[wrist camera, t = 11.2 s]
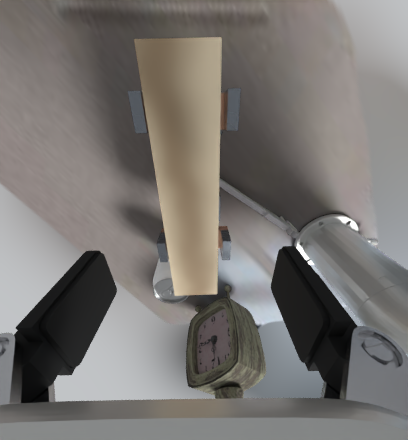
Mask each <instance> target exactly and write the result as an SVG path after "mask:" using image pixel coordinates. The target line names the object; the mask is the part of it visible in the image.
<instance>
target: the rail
mask: <svg viewBox="0 0 408 440" xmlns="http://www.w3.org/2000/svg"><path fill="white" fill-rule="evenodd" d="M134 43H135V49H136V56H137V62H138V68H139V74H140V81H141V87H142V93H143V99H144V106H145V112H146V118H147V125H148V131H149V137H150V143H151V150H152V156H153V162H154V168H155V175H156V181H157V187H158V193H159V200H160V206H161V212H162V219H163V225H164V231H165V237H166V244H167V250H168V256H169V262H170V269H171V275H172V281H173V287H174V294H175V296H183V295H209V294H217V280H218V225H219V170H220V114H221V59H222V37H202V38H159V39H134Z"/></svg>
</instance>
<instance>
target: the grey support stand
mask: <svg viewBox="0 0 408 440" xmlns="http://www.w3.org/2000/svg"><path fill="white" fill-rule="evenodd" d="M240 92H241V88H232V89H227V91H226V92H225V93H221V114H220V134H222V130H226V131H234V130H238V124H239V108H240ZM128 96H129V101H130V107H131V112H132V117H133V122H134V127H135V133H149V131H148V125H147V118H146V112H145V106H144V99H143V93H142V91H128ZM220 200H221V196H220V195H219V221H220ZM157 247H158V253H159V258H160V262H168V261H169V256H168V250H167V244H166V237H165V231H164V228H162V230H161V233H160V236H159V239H158V242H157ZM218 248H220V250H221V256H222V260H230V250H231V239H230V235H229V232H228V228H227V226H218Z"/></svg>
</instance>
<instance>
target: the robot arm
mask: <svg viewBox="0 0 408 440" xmlns="http://www.w3.org/2000/svg"><path fill="white" fill-rule="evenodd" d="M377 244H378V240H377V239H376V238H367V239H366V238H365V237H364V236H362V235H361V234H359V229H358V226H357V224H356V223H355V222H354V221H353V220H352V219H350V218H349V217H347V216H344V215H340V214H330V215H325V216H322V217H319V218H317V219H315V220H313V221H312V222H310V223H309V224H307V225H306V226H305V227H304V228H303V229H302V230H301V231H300V232H299V234H298V236H297V237H296V240H295V244H294V246H284V247H283V248H282V249H280V250H279V252H278V256H277V261H276V265H275V269H274V274H273V278H272V283H271V290H272V293H273V295H274V298H275V300H276V303H277V305H278V308H279V310H280V312H281V315H282V317H283V320H284V322H285V324H286V327H287V329H288V332H289V334H290V337H291V339H292V341H293V344H294V346H295V349H296V351H297V354H298V356H299V358H300V360H301V361H302V362H303V363H305V364H306V366H307V369H308V371H319V373H320V375H321V377H322V379H323V380H324V383H323V388H322V393H321V398H236V399H169V400H114V401H113V400H112V401H66V402H55V391H54V381H55V379H56V377H57V375H72V373H73V371H74V369H75V368H76V366H78V365H79V364H80V363H81V362H82V359H83V358H84V356H85V354H86V352H87V350H88V348H89V346H90V344H91V342H92V340H93V338H94V336H95V334H96V332H97V330H98V328H99V326H100V324H101V322H102V321H103V319H104V317H105V315H106V313H107V311H108V309H109V307H110V305H111V303H112V301H113V299H114V297H115V295H116V292H117V288H116V285H115V283H114V280H113V277H112V275H111V272H110V269H109V267H108V264H107V261H106V259H105V256H104V254H103V253H101V252H100V251H86V252H85V253H84V254H83V255H82V256H81V257H80V258H79V259H78V260H77V261H76V263H75V264H74V265H73V266H72V267H71V268H70V269H69V270H68V271H67V272H66V274H64V276H63V277H62V278H61V279H60V280H59V281H58V282H57V283H56V284H55V285H54V286H53V288H52V289H51V290H50V291H49V292H48V293H47V294H46V295H45V296H44V297H43V299H42V300H41V301H40V302H39V303H38V304H37V305H36V306H35V307H34V308H33V309H32V310H31V311H30V313H29V314H28V315H27V316H26V317H25V318H24V319H23V320H22V321H21V322H20V323H19V325H18V326H17V327H16V329H17V330H18V331H17V332H16V333H15V334H14V335H13V334H12V333H2V334H0V440H408V357H407V355H406V354H408V270H407V269H406V268H404V267H403V266H401V265H400V264H399V263H397V262H396V261H394V260H393V259H392V258H390V257H389V256H388V255H386V254H385V253H383V252H382V251H380V250H379V249H378V248H377V247H375V246H373V245H377ZM309 264H311V265H315V267H316V268H317V269H318V270H319V272H320V273H321V274H322V275H323V277H324V278H325V279H326V280H327V282H328V283H329V284H330V285H331V287H332V288H333V289H334V290H335V292H336V293H337V294H338V295H339V297H340V298H341V299H342V300H343V302H344V303H345V304H346V305H347V307H348V308H349V309H350V310H351V311H352V312H353V314H354V315H355V316H356V318H357V319H358V320H359V321H360V323H361V324H362V325H363V326H357V325H356V324H355V323H354V321H353V320H352V319H351V317H350V316H349V315H348V313H347V312H346V311H345V310H344V308H343V307H342V305H341V304H340V303H339V301H338V300H337V299H336V298H335V296H334V295H333V294H332V292H331V291H330V290H329V288H328V287H327V286H326V284H325V283H324V282H323V281H322V279H321V278H320V277H319V275H318V274H317V273H316V272H315V271H314V270H313V269H312V267H311V266H310V265H309Z"/></svg>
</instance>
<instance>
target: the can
mask: <svg viewBox="0 0 408 440" xmlns="http://www.w3.org/2000/svg"><path fill="white" fill-rule="evenodd" d="M153 287H154V288H153V293H154V295H155V297H156V298H157V299H159V300H160V301H162V302H165V303H171V304H174V303H180V302H182V301H184V300H186V299H187V298H188V296H189V295H183V296H175V294H174V287H173V281H172V275H171V269H170V262H169V261H168V262H160V258H159V260H158V263H157V267H156V271H155V274H154V278H153Z"/></svg>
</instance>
